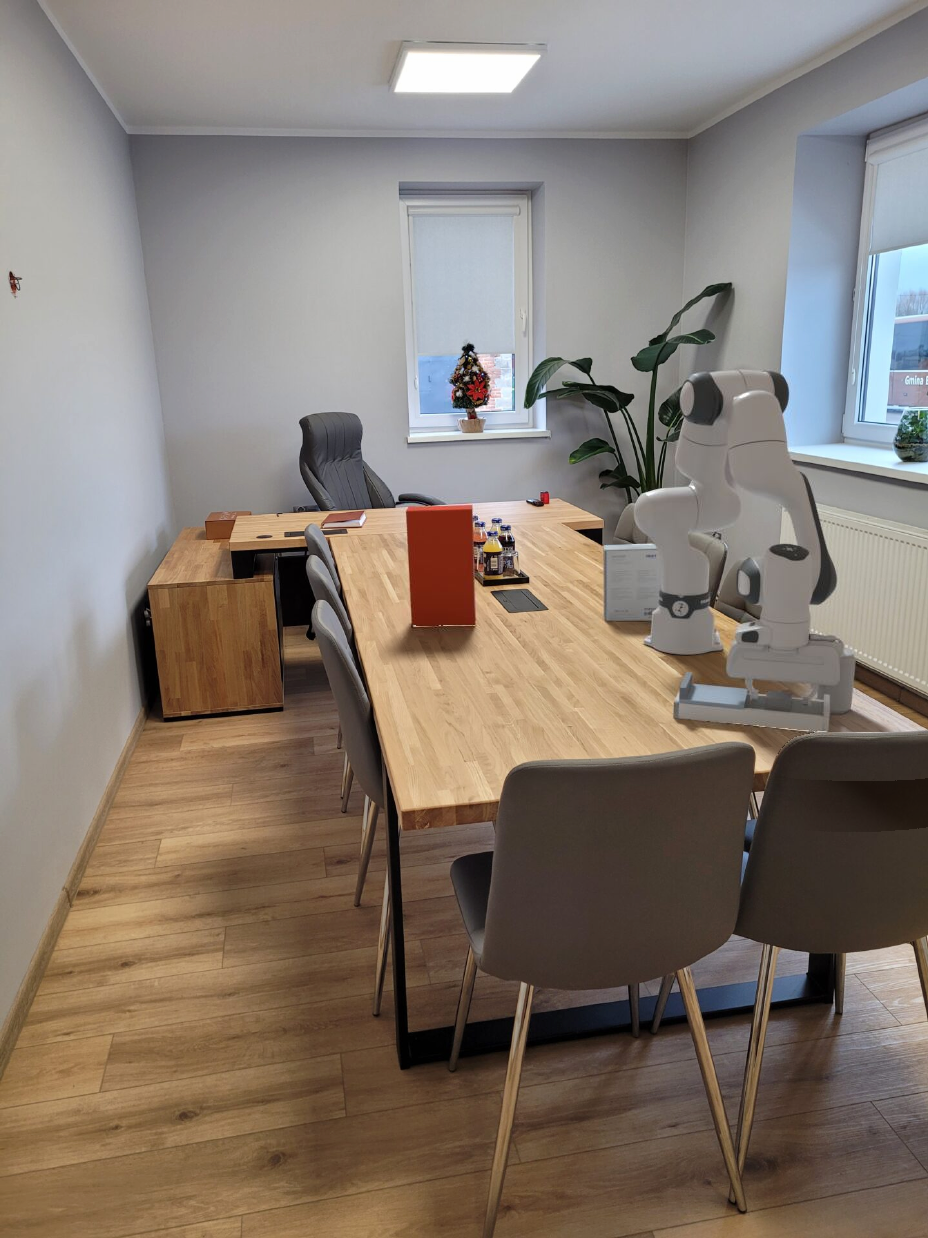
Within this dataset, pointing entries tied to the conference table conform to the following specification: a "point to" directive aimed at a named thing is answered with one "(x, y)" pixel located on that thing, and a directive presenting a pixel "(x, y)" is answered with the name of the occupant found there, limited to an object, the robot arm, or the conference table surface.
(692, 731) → the conference table surface
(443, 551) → the file binder
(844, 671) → the beverage can
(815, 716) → the tray
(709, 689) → the cover
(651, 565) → the hard drive box
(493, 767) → the conference table surface
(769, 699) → the block
